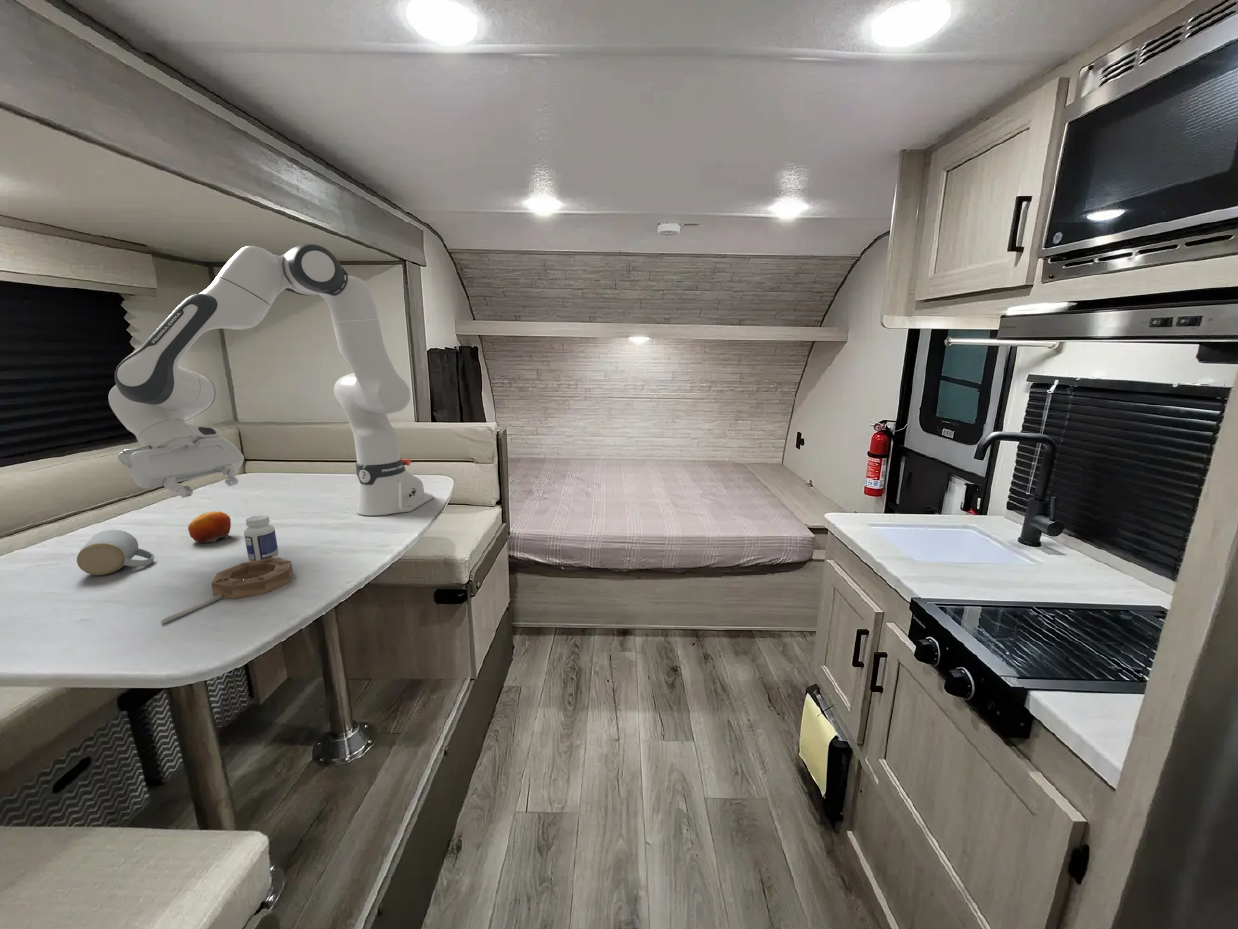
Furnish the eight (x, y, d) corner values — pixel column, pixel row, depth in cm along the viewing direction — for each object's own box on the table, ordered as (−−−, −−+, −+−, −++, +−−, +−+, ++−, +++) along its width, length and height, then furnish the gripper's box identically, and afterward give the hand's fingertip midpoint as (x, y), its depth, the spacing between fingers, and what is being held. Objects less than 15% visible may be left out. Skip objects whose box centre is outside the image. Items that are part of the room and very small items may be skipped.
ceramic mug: (77, 581, 97) (69, 544, 96) (93, 566, 104) (85, 531, 102) (149, 570, 103) (142, 535, 101) (160, 556, 109) (153, 524, 108)
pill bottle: (282, 554, 111) (276, 512, 108) (274, 563, 106) (267, 520, 103) (254, 557, 109) (247, 515, 107) (244, 566, 104) (237, 523, 102)
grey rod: (219, 598, 90) (218, 594, 90) (222, 598, 90) (221, 594, 90) (159, 624, 82) (159, 620, 81) (163, 625, 81) (162, 620, 81)
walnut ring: (261, 567, 104) (259, 556, 103) (306, 574, 100) (304, 562, 100) (199, 593, 92) (197, 580, 92) (247, 601, 89) (245, 589, 88)
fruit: (215, 541, 114) (195, 512, 113) (195, 555, 116) (175, 527, 116) (247, 529, 122) (229, 502, 121) (228, 543, 124) (209, 516, 123)
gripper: (117, 441, 97) (162, 492, 96) (224, 427, 116) (262, 470, 116) (107, 462, 99) (151, 512, 99) (214, 444, 118) (251, 487, 118)
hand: (212, 489), depth 107 cm, fingers open, 8 cm apart
